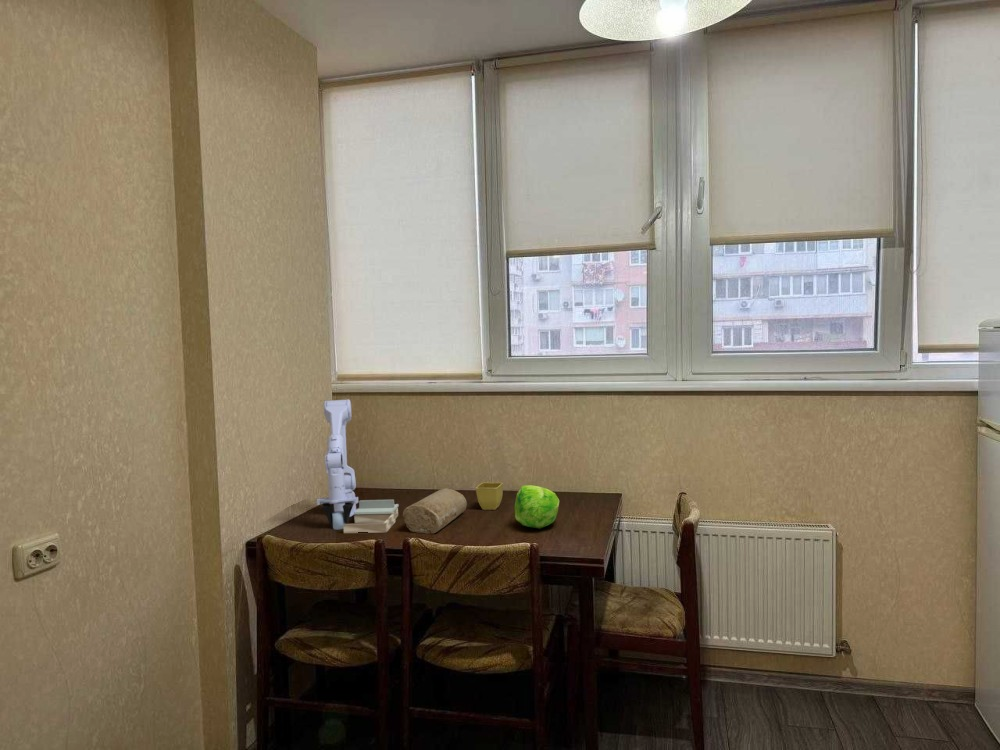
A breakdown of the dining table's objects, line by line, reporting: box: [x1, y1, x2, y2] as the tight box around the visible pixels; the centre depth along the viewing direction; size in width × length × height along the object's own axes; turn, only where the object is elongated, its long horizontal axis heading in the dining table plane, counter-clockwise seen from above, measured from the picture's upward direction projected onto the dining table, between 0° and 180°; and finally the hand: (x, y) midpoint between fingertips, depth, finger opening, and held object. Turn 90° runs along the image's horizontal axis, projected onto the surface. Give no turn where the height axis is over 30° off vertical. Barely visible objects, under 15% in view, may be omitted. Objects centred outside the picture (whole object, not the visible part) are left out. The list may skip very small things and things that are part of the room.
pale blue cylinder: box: [332, 511, 345, 531], centre depth 235 cm, size 4×4×6 cm
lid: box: [354, 499, 399, 515], centre depth 244 cm, size 10×14×4 cm
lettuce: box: [514, 484, 560, 530], centre depth 225 cm, size 15×20×14 cm
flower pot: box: [474, 482, 504, 511], centre depth 251 cm, size 9×9×9 cm
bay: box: [343, 507, 399, 534], centre depth 237 cm, size 20×15×3 cm
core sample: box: [402, 487, 468, 535], centre depth 235 cm, size 14×26×10 cm, turn 162°
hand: (339, 523), depth 235 cm, fingers open, 5 cm apart
